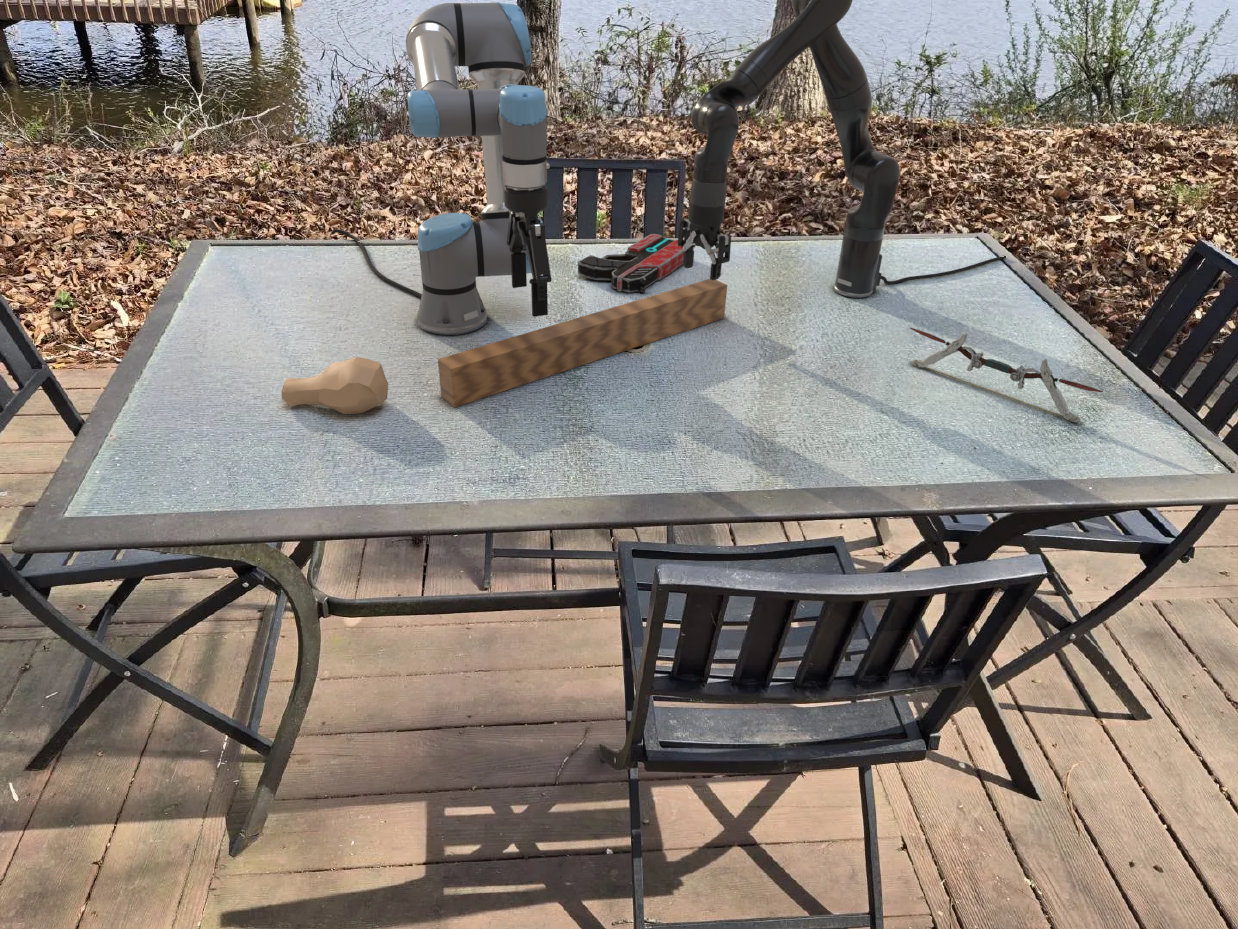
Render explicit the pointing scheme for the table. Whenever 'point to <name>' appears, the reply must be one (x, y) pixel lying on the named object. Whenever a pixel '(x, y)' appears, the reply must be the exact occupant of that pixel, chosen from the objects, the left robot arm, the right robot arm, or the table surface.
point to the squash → (341, 387)
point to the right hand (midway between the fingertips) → (701, 273)
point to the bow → (1015, 375)
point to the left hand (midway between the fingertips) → (529, 300)
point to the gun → (635, 264)
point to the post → (578, 342)
